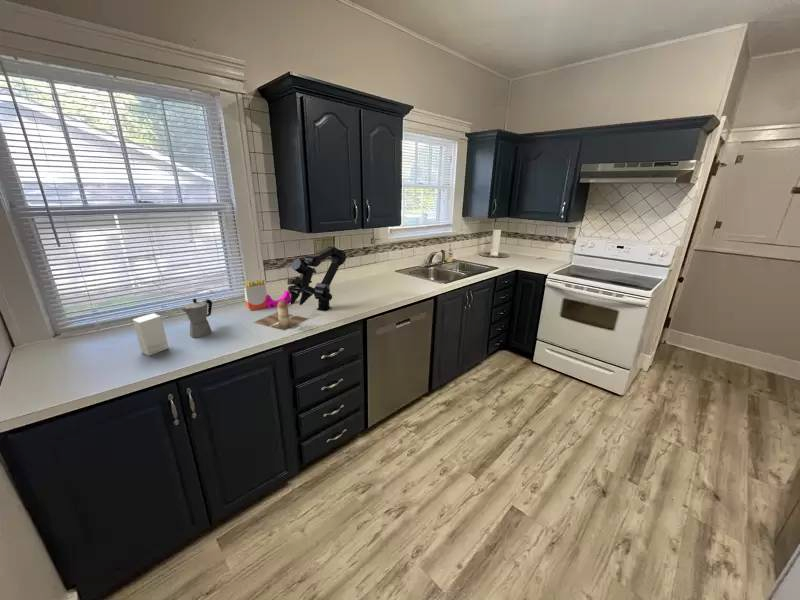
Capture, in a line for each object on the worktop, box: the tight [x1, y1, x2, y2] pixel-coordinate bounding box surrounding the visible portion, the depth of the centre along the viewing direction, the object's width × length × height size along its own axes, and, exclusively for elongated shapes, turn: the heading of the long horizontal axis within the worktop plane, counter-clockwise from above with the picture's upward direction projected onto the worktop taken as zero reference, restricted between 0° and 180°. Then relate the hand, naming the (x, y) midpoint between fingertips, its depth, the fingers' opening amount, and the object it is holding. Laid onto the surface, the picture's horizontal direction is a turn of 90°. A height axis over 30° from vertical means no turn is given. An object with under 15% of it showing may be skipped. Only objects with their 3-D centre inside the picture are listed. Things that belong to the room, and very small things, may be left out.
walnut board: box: [252, 311, 310, 332], centre depth 172 cm, size 18×22×1 cm
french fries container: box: [243, 279, 267, 311], centre depth 187 cm, size 5×11×18 cm, turn 134°
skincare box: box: [132, 313, 169, 356], centre depth 138 cm, size 8×7×16 cm
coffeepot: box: [182, 298, 213, 339], centre depth 155 cm, size 15×9×18 cm, turn 162°
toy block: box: [265, 290, 291, 309], centre depth 196 cm, size 15×6×8 cm, turn 134°
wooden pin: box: [276, 301, 290, 328], centre depth 163 cm, size 5×5×14 cm
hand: (295, 304), depth 170 cm, fingers open, 9 cm apart
